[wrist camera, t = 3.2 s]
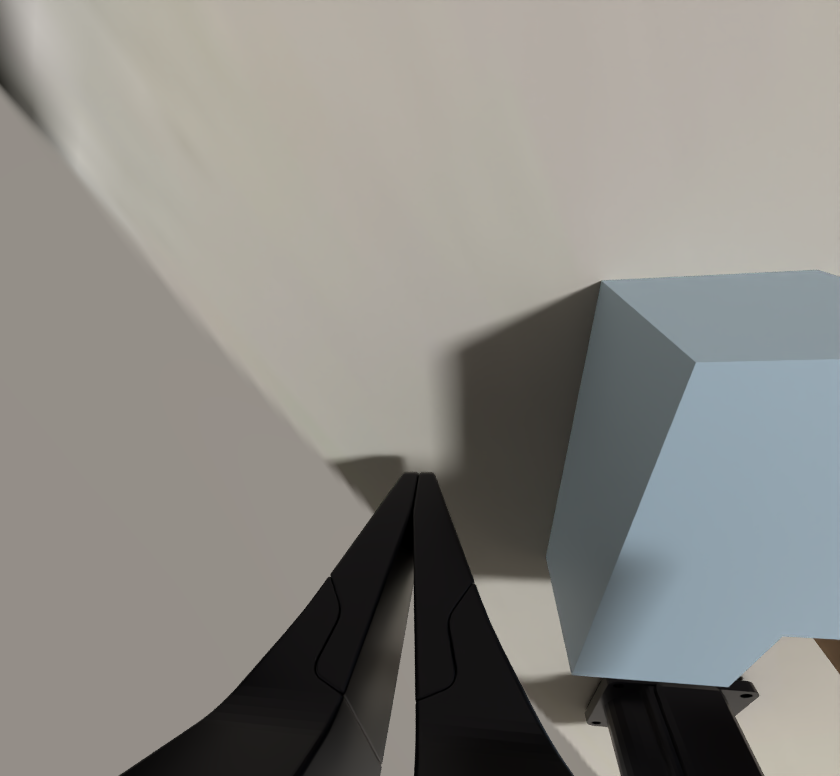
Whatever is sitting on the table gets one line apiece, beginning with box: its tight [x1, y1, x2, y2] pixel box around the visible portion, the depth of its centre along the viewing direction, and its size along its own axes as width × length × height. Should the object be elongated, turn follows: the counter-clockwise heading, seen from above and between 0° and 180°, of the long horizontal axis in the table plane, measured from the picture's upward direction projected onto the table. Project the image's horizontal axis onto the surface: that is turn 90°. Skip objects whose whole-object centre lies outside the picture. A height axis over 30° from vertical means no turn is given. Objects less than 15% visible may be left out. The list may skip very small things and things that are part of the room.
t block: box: [546, 270, 840, 687], centre depth 8 cm, size 10×11×4 cm
